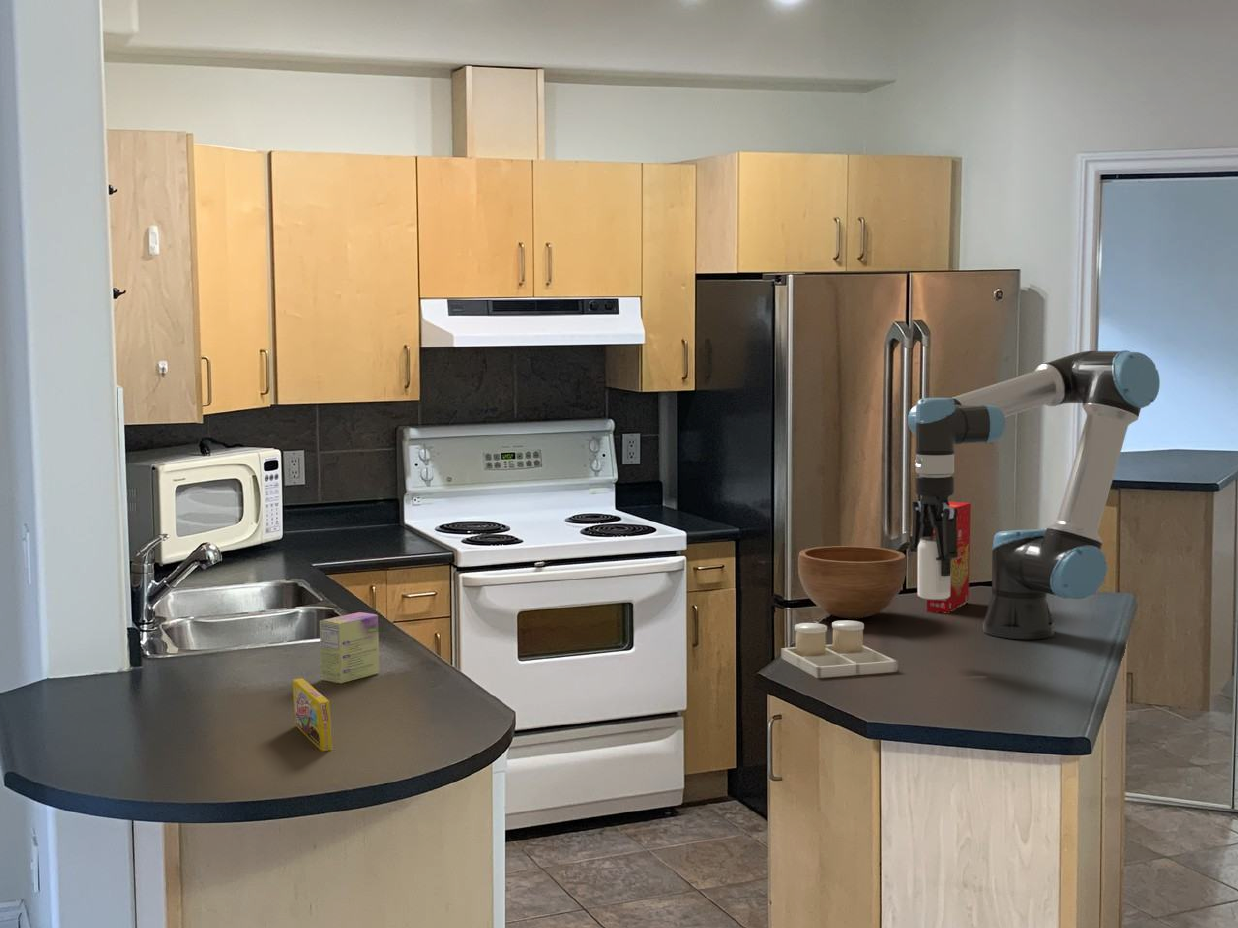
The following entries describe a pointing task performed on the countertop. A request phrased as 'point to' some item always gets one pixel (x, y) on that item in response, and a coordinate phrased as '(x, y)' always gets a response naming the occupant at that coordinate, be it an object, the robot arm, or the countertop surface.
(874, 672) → the carrier
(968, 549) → the food packaging
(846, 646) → the paper cup
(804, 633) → the paper cup
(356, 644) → the box
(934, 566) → the can
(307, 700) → the candy box
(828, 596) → the bowl
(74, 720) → the countertop surface
